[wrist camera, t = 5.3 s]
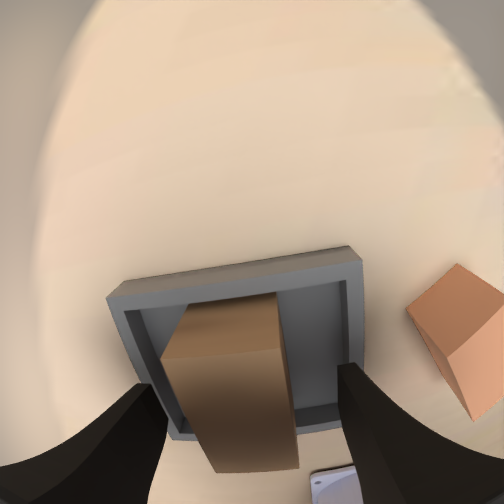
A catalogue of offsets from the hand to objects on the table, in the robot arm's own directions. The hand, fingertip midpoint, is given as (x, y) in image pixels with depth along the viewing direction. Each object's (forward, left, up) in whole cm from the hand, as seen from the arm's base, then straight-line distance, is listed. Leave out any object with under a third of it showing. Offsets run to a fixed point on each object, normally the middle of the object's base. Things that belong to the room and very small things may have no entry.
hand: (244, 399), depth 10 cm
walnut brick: (0, 0, -2) cm, 2 cm away
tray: (0, 0, -3) cm, 3 cm away
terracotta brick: (-1, -10, -3) cm, 11 cm away
